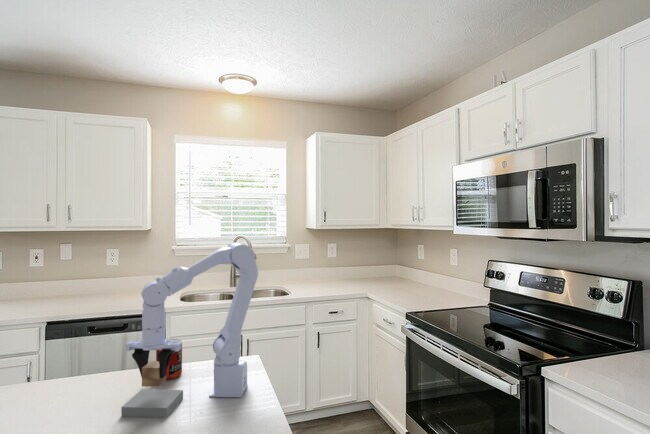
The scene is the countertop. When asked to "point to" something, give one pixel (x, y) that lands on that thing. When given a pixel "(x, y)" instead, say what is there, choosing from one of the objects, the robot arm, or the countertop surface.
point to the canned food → (173, 362)
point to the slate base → (152, 403)
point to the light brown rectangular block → (152, 375)
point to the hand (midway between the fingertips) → (153, 376)
